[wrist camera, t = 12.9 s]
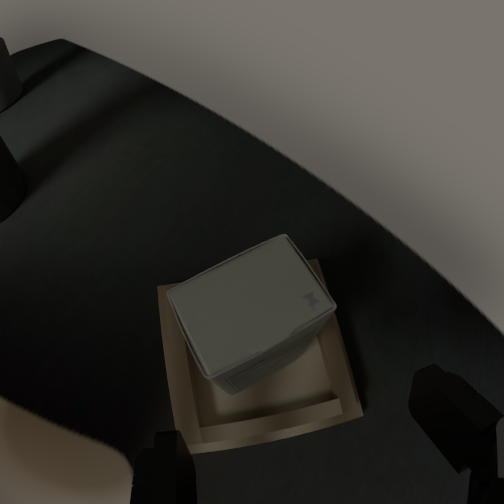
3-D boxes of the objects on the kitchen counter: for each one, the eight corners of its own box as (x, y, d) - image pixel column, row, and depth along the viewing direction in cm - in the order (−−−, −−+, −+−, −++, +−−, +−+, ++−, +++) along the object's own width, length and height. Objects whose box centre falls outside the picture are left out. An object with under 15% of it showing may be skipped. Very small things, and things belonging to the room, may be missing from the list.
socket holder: (183, 453, 20) (176, 456, 18) (160, 290, 27) (152, 278, 25) (359, 416, 22) (370, 415, 20) (315, 263, 29) (320, 249, 26)
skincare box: (272, 313, 25) (291, 226, 15) (300, 359, 23) (346, 303, 13) (199, 350, 24) (160, 287, 13) (226, 399, 22) (206, 381, 11)
